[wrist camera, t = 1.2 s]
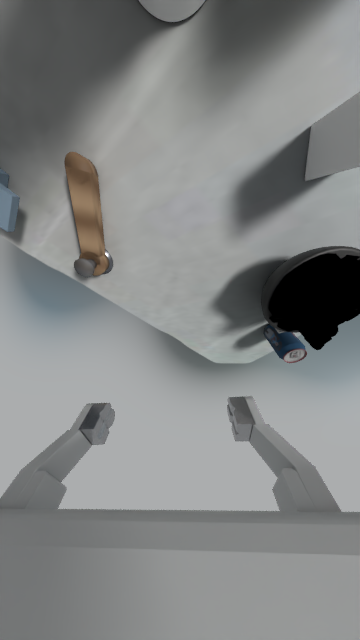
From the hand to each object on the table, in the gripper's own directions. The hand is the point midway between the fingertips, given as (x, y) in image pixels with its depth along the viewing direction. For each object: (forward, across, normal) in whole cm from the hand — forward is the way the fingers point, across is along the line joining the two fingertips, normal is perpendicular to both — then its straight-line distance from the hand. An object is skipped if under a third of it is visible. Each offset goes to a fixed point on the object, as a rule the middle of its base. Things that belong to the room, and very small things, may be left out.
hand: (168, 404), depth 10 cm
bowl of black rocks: (+34, -29, +2) cm, 45 cm away
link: (+31, +18, -16) cm, 39 cm away
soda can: (+37, -30, +18) cm, 51 cm away
